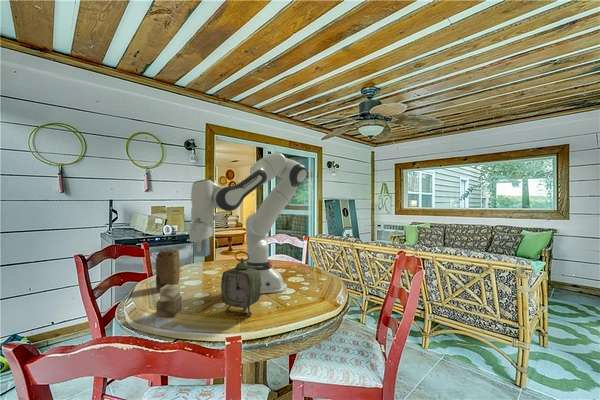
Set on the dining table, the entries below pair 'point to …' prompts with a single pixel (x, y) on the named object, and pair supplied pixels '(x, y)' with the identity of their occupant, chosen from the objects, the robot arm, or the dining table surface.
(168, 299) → the maple top block
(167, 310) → the walnut base block
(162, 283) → the block
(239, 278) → the tabletop clock
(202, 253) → the slate block
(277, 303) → the dining table surface
